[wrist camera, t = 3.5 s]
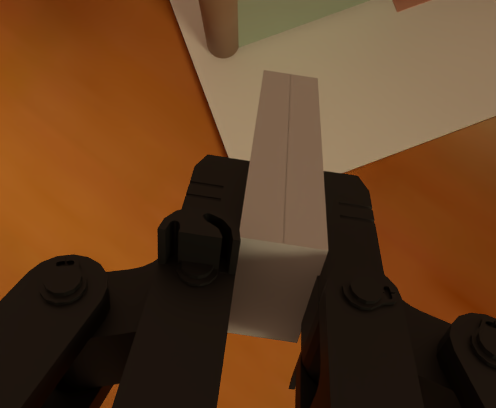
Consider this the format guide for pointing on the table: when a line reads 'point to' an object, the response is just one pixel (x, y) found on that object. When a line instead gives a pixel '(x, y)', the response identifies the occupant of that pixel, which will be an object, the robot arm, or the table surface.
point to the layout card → (361, 75)
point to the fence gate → (259, 19)
